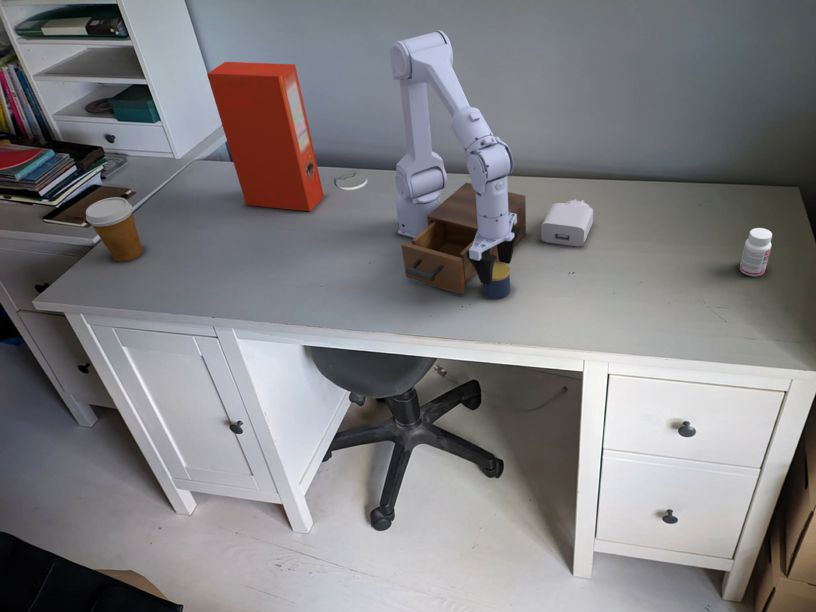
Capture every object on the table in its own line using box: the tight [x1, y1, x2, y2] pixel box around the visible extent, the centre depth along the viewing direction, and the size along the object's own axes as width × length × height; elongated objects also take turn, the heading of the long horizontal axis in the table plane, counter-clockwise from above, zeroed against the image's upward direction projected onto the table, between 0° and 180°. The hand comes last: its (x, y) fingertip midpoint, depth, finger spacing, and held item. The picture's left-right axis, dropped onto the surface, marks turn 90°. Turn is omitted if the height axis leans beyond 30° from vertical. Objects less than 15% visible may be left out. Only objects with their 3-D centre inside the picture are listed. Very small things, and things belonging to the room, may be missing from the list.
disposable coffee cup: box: [85, 196, 143, 263], centre depth 155 cm, size 10×10×12 cm
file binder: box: [206, 61, 324, 212], centre depth 163 cm, size 8×17×32 cm, turn 73°
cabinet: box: [427, 182, 527, 263], centre depth 149 cm, size 16×15×10 cm
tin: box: [481, 262, 511, 300], centre depth 137 cm, size 6×6×5 cm
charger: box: [540, 198, 594, 247], centre depth 154 cm, size 5×9×15 cm
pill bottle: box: [739, 227, 773, 277], centre depth 136 cm, size 5×5×8 cm
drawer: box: [401, 221, 478, 295], centre depth 141 cm, size 19×13×8 cm
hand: (495, 272), depth 136 cm, fingers open, 7 cm apart
